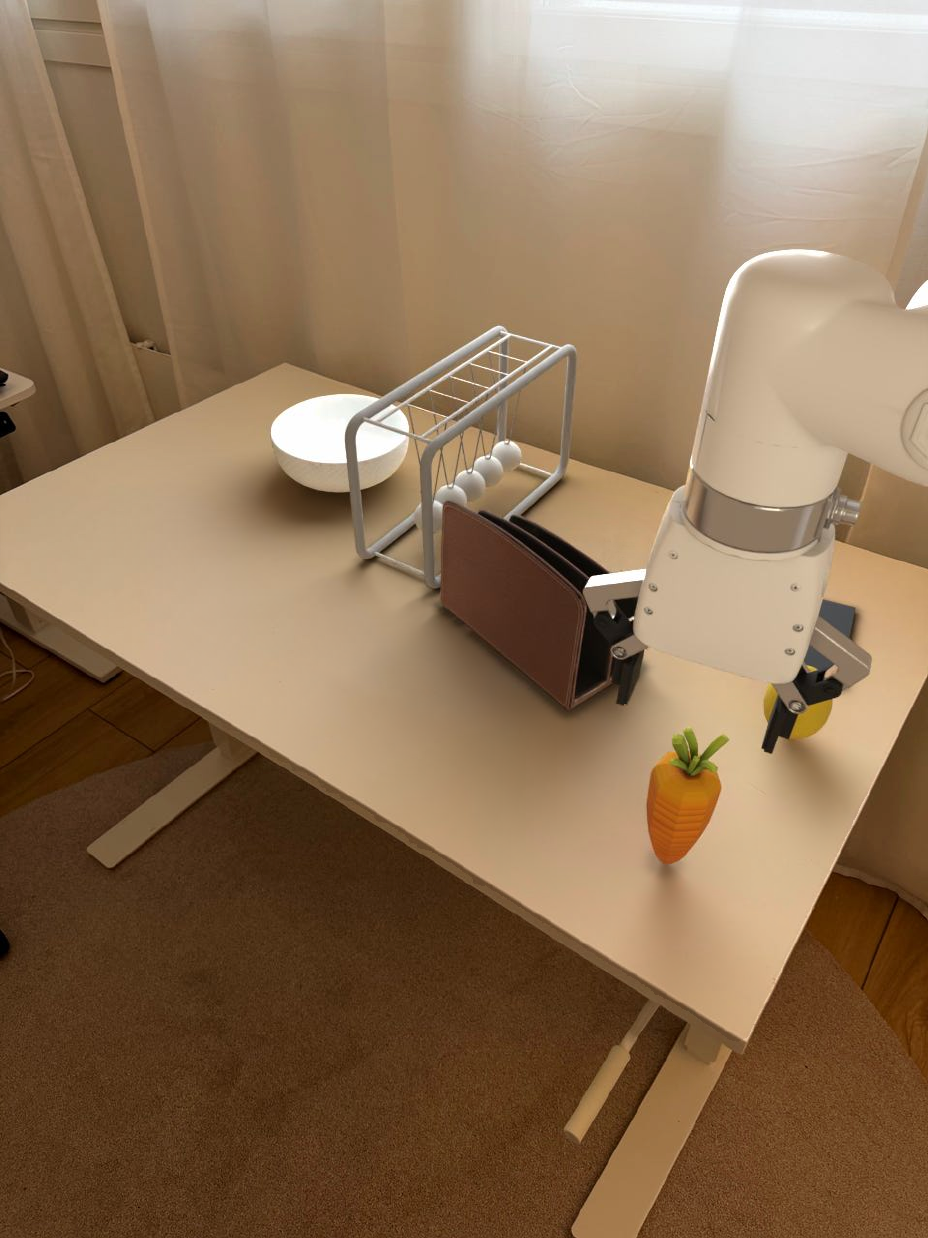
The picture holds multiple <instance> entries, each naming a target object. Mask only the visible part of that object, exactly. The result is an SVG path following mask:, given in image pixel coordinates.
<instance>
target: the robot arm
mask: <svg viewBox="0 0 928 1238" xmlns="http://www.w3.org/2000/svg"><path fill="white" fill-rule="evenodd" d="M724 293H725V294H724V297H723V301H722V305H721V310H720V315H719V320H718V324H717V329H716V334H715V339H714V343H713V350H712V354H711V358H710V363H709V367H708V373H707V379H706V383H705V387H704V393H703V397H702V403H701V407H700V412H699V416H698V422H697V427H696V432H695V436H694V441H693V446H692V451H691V455H690V456H691V457H690V461H689V465H688V471H687V474H686V480H685V483H684V485H682V486H679V487H678V488H676V489H675V491H674V492H673V494H672V496H671V497H670V499H669V502H668V504H667V506H666V509H665V511H664V513H663V516H662V519H661V521H660V524H659V527H658V530H657V533H656V536H655V537H654V538H655V539H654V542H653V544H652V547H651V550H650V554H649V557H648V561H647V564H646V568H645V569H635V570H629V571H622V572H614V573H612V574H606V575H599V576H593V577H590V578H589V580H588V582H587V584H586V585H585V587H584V589H583V595H584V598H585V600H586V602H587V604H588V607H589V609H590V611H591V613H593V616H594V621H593V622H594V625H595V626H596V627H597V629H598V630H599V631H600V632H601V634H602V635H603V636H604V637H605V638H606V640H607V641H608V642H609V643H610V645H611V646H612V647H611V654H612V655H613V656H614V657H615V663H614V669H613V675H612V681H611V683H612V684H611V685H616V686H618V690H617V696H616V701H615V704H616V705H618V706H621V707H624V706H628V704H629V702H630V701H631V700H630V699H631V697H632V695H633V693H634V690H635V689H636V686H637V683H638V681H639V678H640V676H641V675H640V674H641V669H642V664H643V660H644V657H643V655H644V656H645V650H646V649H648V648H651V649H653V650H655V651H658V652H660V653H664V654H667V655H669V656H673V657H675V658H679V659H682V660H685V661H688V662H692V663H695V664H698V665H702V666H704V667H705V666H706V667H709V668H712V669H714V670H718V671H722V672H725V673H729V674H733V675H736V676H738V677H739V676H740V677H742V678H747V679H749V680H754V681H758V682H761V683H766V684H770V683H771V684H772V685H773V687H774V689H775V690H776V692H777V693H778V695H777V698H776V701H775V704H774V707H773V710H772V712H771V715H770V718H769V722H767V725H766V728H765V729H766V730H765V732H764V736H763V740H762V744H761V750H763V752H764V753H767V754H770V755H773V752H774V749H775V747H776V744H777V741H778V739H779V738H783V739H786V740H790V739H791V738H790V735H791V733H792V730H793V727H794V725H795V722H796V720H797V717H798V714H802V713H804V712H805V711H806V710H807V707H808V706H810V705H813V704H817V703H820V702H824V701H827V700H831V699H833V700H834V699H837V698H839V697H840V696H841V695H842V693H843V691H845V690H847V689H850V688H851V687H853V686H855V685H856V684H858V683H859V682H861V681H862V680H864V679H866V678H867V677H868V676H869V675H870V673H871V668H872V661H873V657H872V655H871V654H870V653H869V652H868V651H867V650H865V649H864V648H863V647H861V646H860V645H859V644H857V643H856V642H854V641H853V640H852V639H851V638H850V639H849V638H848V637H846V636H845V635H844V634H842V633H841V632H840V631H838V630H837V629H836V628H834V627H833V626H832V625H830V624H829V623H828V622H826V621H825V620H824V619H823V618H821V617H820V616H819V611H820V608H821V604H822V600H823V599H824V596H825V594H826V590H827V586H828V583H829V578H830V574H831V569H832V563H833V558H834V552H835V541H836V526H839V525H840V524H842V525H845V526H850V527H855V526H856V523H857V520H858V518H859V514H860V512H861V508H862V504H863V501H860V500H856V499H851V498H848V497H849V495H845V494H841V492H842V487H838V484H839V481H840V479H841V476H842V472H843V469H844V466H845V464H846V460H847V458H848V455H849V454H850V455H852V456H854V457H855V458H859V459H860V460H863V461H865V462H867V463H869V464H871V465H873V466H875V467H877V468H879V469H881V470H883V471H885V472H887V473H890V474H892V475H894V476H896V477H898V478H901V479H903V480H905V481H908V482H910V483H914V484H916V485H919V486H923V487H925V488H928V279H927V280H926V281H925V282H924V283H923V284H922V285H921V286H920V287H919V288H918V290H917V291H916V292H915V294H914V295H913V296H912V298H910V299H911V300H910V301H909V303H908V305H907V306H906V308H901V307H900V306H898V304H897V302H896V299H895V293H894V289H893V287H892V285H891V283H890V281H889V280H888V279H887V278H886V277H885V276H884V274H882V273H881V271H879V270H878V269H876V268H875V267H873V266H871V265H869V264H867V263H865V262H862V261H860V260H857V259H855V258H852V257H849V256H846V255H842V254H837V253H833V252H827V251H822V250H814V249H813V250H811V249H787V250H786V249H785V250H778V251H771V252H766V253H763V254H760V255H757V256H755V257H753V258H751V259H749V260H748V261H746V262H745V263H743V264H742V265H741V266H740V267H739V268H738V269H737V270H736V271H735V272H734V274H733V276H731V278H730V280H729V283H728V285H727V287H726V290H725V292H724ZM635 597H639V598H638V602H637V606H636V610H635V615H634V616H633V617H631V618H629V619H628V618H627V617H626V616H625V614H624V613H623V612H622V611H621V609H620V608H619V607H618V606H617V605H616V604H615V603H614V602H613V600H618V599H626V598H635ZM809 645H810V646H811V647H812V648H814V649H815V650H816V651H818V652H819V653H820V654H822V655H823V656H824V657H826V658H827V659H828V660H830V661H831V662H832V663H834V664H835V665H834V666H828V667H825V668H822V669H819V670H816V671H813V672H810V670H809V668H808V667H807V665H806V664H805V662H804V658H805V656H806V653H807V650H808V647H809Z"/></svg>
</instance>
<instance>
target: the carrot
mask: <svg viewBox="0 0 928 1238" xmlns="http://www.w3.org/2000/svg"><path fill="white" fill-rule="evenodd" d="M682 732H683V734H680V733H677V734H673V735H672V738H671V745H672V747H673V750H674V751H667V752H666V753H665V754H664V755H663V756H662V758H661V759H660V760H659V761H658V762H657V763H656V764H655V765H653V767H652V769H651V772H650V775H649V782H648V787H647V788H648V789H647V795H646V804H645V807H646V823H647V831H648V836H649V840H650V843H651V847H652V850H653V852H654V855H655V856H656V857H657V859H658V860H659V861H660V863H662V864H664V865H672V864H674V863H677V862H679V861H680V860H682V859H683V858H685V856H687V854H688V853H689V852H690V851H691V849H692V848H693V847H694V846H695V844H696V843H697V842H698V841H699V839H700V838H701V836H702V835H703V834H704V832H705V830H706V828H707V827H708V825H709V823H710V822H711V819H712V816H713V814H714V812H715V809H716V806H717V804H718V801H719V798H720V794H721V792H722V781H721V780H720V777H719V774H718V769H719V767H718V766H717V765H716V763H714V762H712V761H711V760H709V759H710V758H711V757H712V756H713V755H715V754H716V753H717V751H719V750H720V749H721V748H722V747H724V746H725V745H726V744H727V743H728V742H729V741H730V738H729V737H728V736H727V735H726V734H724V733H722V734H721V735H718V736H717V737H716V738H715V739H714V740H713V741H711V743H710V744H709V745H708V746H707V747H706V748H705V750H704V751H703V752H702V753H701V754H699V743H698V739H697V737H696V735H695V733H694V730H693V728H692V727H685V728H683V729H682Z"/></svg>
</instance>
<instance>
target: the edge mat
mask: <svg viewBox="0 0 928 1238" xmlns="http://www.w3.org/2000/svg"><path fill="white" fill-rule="evenodd" d="M855 612H856V607H855V606H851V605H847V604H843V603H839V602H835V601H831V600H828V599H824V598H823V600H822V604H821V608H820V611H819V616H820V617H821V618H823V619H824V620H825V621H826V622H828V623H829V624H830V625H832V626H833V627H834V628H836V629H837V630H838V631H840V632H841V633H842V634H844V635H845V636H846V637H848V638H849V639H850V640H851V633H852V629H853V623H854V619H855ZM804 662H805V664H806V665H808V666H811V667H814V668H816V669H817V670H819V669H822V668H825V667H828V666H834V665H835V664H834V663H832V662H831V661H830V660H828V659H827V658H826V657H824V656H823V655H822V654H820V653H819V652H818V651H816V650H815V649H814V648H812V647H811V646H810V645H809V647H808V650H807V653H806V656H805V658H804Z"/></svg>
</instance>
